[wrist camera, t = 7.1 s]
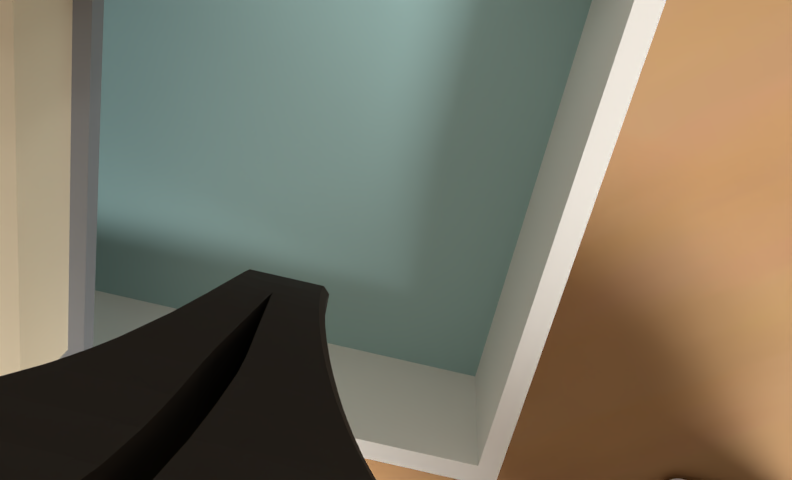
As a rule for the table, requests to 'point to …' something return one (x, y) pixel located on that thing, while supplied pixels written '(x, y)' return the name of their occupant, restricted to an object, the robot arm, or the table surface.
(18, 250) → the lid
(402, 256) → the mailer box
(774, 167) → the table surface
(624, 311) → the table surface
